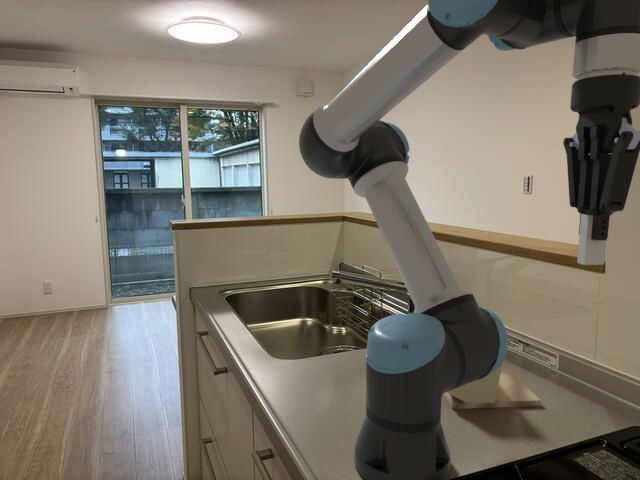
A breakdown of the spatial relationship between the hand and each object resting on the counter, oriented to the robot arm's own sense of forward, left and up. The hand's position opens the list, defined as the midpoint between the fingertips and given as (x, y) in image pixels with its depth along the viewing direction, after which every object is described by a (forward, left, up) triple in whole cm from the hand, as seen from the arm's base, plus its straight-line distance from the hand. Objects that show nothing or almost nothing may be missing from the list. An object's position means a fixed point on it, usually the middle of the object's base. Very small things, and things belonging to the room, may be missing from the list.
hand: (590, 263), depth 62 cm
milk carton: (-4, +26, -29) cm, 39 cm away
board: (+1, +34, -34) cm, 49 cm away
